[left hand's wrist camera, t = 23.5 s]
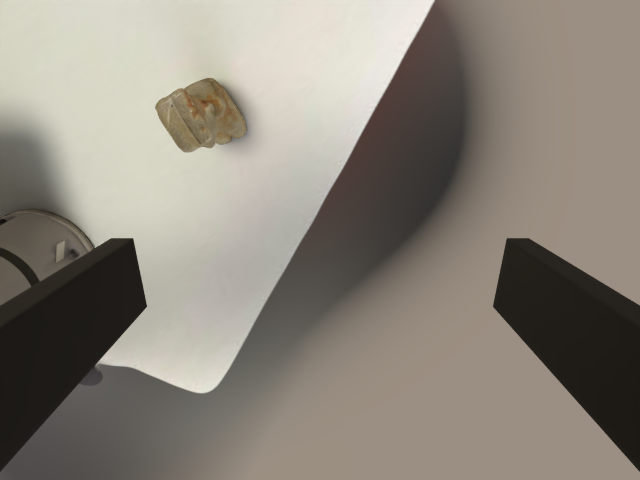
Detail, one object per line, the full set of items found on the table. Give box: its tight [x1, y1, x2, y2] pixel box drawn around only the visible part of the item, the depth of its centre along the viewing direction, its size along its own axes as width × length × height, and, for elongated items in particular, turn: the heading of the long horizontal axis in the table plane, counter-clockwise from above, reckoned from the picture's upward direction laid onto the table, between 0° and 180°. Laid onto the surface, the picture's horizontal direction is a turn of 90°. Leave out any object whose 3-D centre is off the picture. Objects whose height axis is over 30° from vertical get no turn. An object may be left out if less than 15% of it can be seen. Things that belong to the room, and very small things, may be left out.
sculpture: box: [155, 78, 246, 152], centre depth 36 cm, size 6×7×15 cm
